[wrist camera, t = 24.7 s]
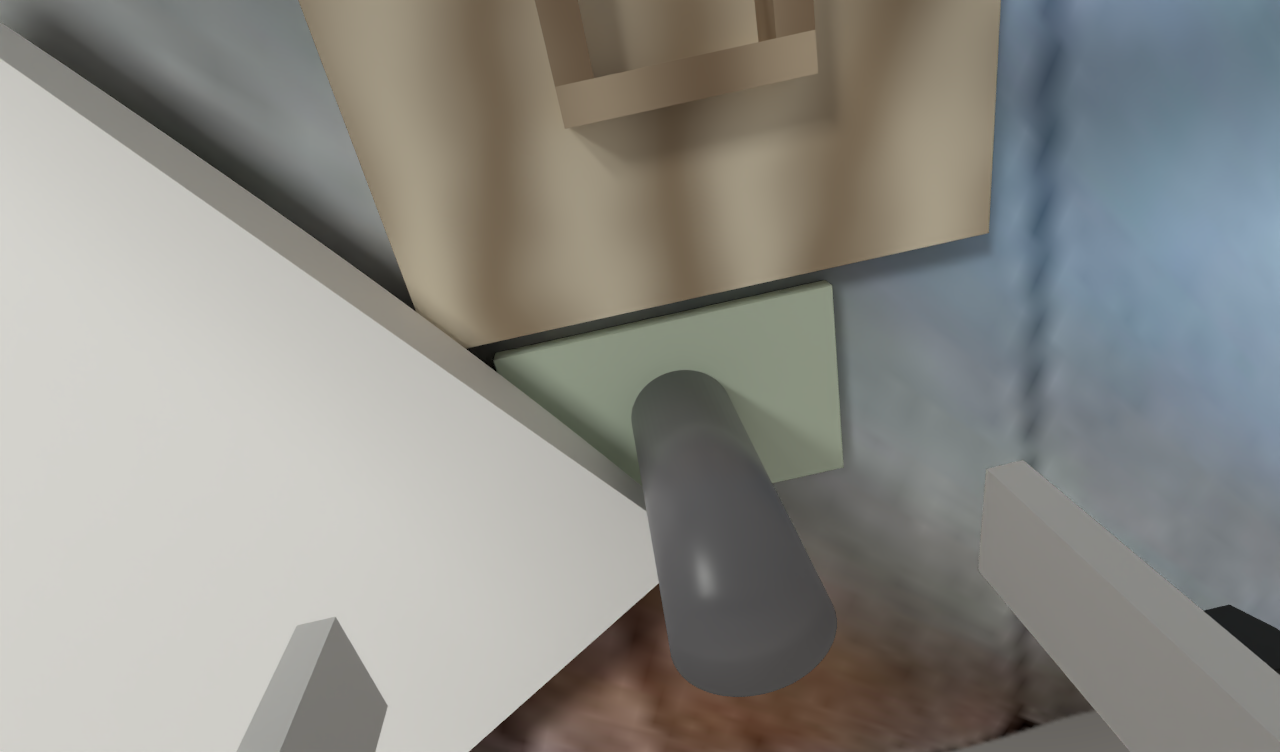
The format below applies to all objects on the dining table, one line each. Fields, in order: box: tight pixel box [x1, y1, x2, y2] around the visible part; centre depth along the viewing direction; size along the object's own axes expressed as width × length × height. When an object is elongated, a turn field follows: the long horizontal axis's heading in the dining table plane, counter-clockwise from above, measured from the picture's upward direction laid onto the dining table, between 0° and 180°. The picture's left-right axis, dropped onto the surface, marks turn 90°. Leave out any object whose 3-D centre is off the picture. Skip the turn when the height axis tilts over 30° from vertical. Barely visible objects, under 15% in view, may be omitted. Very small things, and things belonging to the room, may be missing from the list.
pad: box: [493, 280, 844, 486], centre depth 27 cm, size 14×9×1 cm, turn 101°
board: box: [0, 22, 659, 752], centre depth 28 cm, size 45×32×5 cm
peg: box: [631, 370, 837, 697], centre depth 21 cm, size 4×4×12 cm
